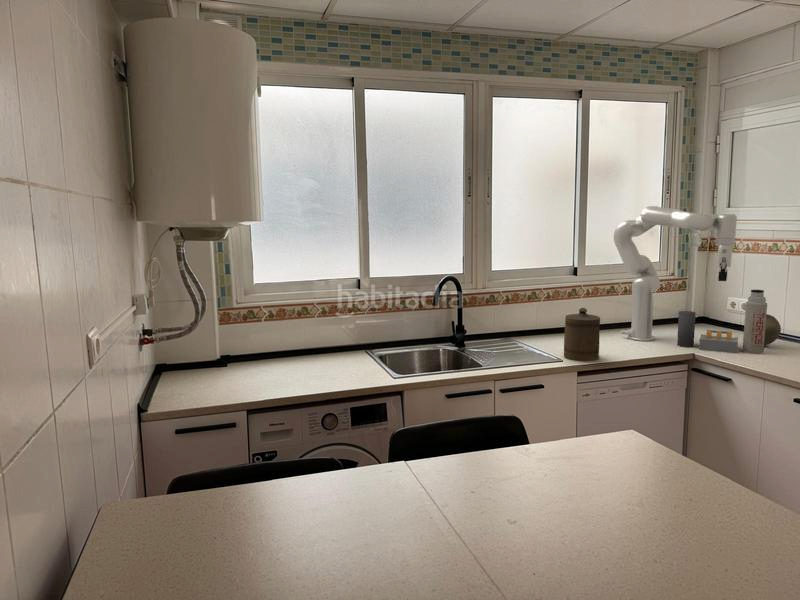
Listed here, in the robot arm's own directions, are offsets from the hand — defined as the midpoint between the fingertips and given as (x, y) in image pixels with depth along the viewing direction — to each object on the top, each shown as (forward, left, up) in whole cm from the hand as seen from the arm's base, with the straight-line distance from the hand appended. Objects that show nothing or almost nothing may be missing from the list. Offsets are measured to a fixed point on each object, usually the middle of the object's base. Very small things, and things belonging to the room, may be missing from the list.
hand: (722, 279), depth 255 cm
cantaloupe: (+21, +7, -32) cm, 39 cm away
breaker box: (0, 0, -32) cm, 32 cm away
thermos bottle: (+13, -5, -32) cm, 35 cm away
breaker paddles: (0, 0, -27) cm, 27 cm away
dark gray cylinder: (-12, +5, -32) cm, 35 cm away
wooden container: (-64, -21, -32) cm, 75 cm away
